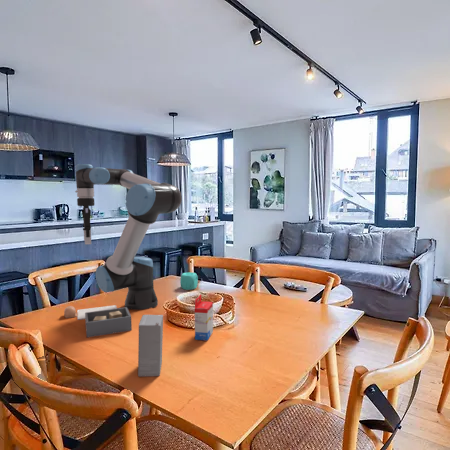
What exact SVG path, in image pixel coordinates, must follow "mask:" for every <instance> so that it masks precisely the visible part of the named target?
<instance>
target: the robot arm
mask: <svg viewBox="0 0 450 450" xmlns="http://www.w3.org/2000/svg"><path fill="white" fill-rule="evenodd" d="M75 181H76V190H75V191H74V192H75V193H76V197H77V199H76V205H77V206H78V207H82V210H81V214H82V220H83V221H82V223H83V225H82V226H83V228H82V231H83V241H84V245H92V229H91V228H92V227H91V219H92V215H91V214H92V211H91V209H90V207H94V206H95V198H94V197H95V185H99V186H100V185H101V186H102V185H103V186H104V185H105V186H106V185H107V186H110V185H111V186H115V185H117V186H120V187H123V188H125V189H127V190H128V191H127V192H126V196H125V201H126V202H125V203H124V204H125V208H126V210H127V214H128V215H129V216H128V219H127V221H126V224H125V225H124V227H123V230H122V233H121V235H120V237H119V239H118V242H117V245H116V247H115V249H114V252H113V253H112V255H111V256H108V257H107V259H106V260H105V263H104V265H99V266H97V267H96V269H95V280H96V283H97V285H98V287H99V289H100V290H101V291H102V292H104V293H110V292H116V291H119V290H124V289H127V293H126V297H125V301H124V307H127V309H128V310H133V311H134V310H135V311H139V310H141V311H142V310H149V309H153V308H156V307H157V306H158V304H159V301H158V300H159V299H158V297H157V295H156V292H155V289H154V263H153V262H154V261H153V259H152V258H150V257H148V256H147V257H146V256H145V257H144V256H136V255H137V253H138V251H139V248H140V247H141V245H142V242H143V240H144V238H145V236H146V233H147V232H148V230H149V227H150V225H153V224H154V223H156V222H157V220H158V217H159V216H160V215H161V214H171V213H173V212H175V211H177V210H178V209H179V207H180V206H181V204H182V201H183V200H182V199H183V196H182V192H181V191H180V189H179V188H178V187H177V186H175V185H173V184H170V183H168V182H161V183H160V182H158V181H154V180H152V179H149V178H147V177H144V176H141V175H139V174H136V173H134V172H133V170H132V169H127V168H110V167H109V168H105V167H102V166H101V167H100V166H96V167H94V166H93V165H92V164H89V163H88V164H87V163H78V164H76V165H75Z"/></svg>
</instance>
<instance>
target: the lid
mask: <svg viewBox="0 0 450 450" xmlns="http://www.w3.org/2000/svg"><path fill="white" fill-rule="evenodd" d="M117 308H118V307H117V305H116V304H115V305H114V304H113V305H106V306H100V307H99V306H97V307H90V308H83V309H82V308H81V309H77V312H76V307H74V306H73V305H68V306H66V307H65V308H64V311H63V312H64V313H63V315H64V318H65V319H70V318H71V319H72V318H77V320H78V321H79V320H85V313H87V312H94V311H102V310H109V309H117Z"/></svg>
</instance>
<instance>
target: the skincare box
mask: <svg viewBox="0 0 450 450" xmlns="http://www.w3.org/2000/svg"><path fill="white" fill-rule="evenodd" d="M163 331H164V314H143V315H142V316H141V318H140V321H139V322H138V353H137V354H138V355H137V356H138V357H137V359H138V361H137V362H138V363H137V367H138V368H137V375H138V377H139V378H140V377H159V376H161V370H162V364H163V340H164V339H163V338H164V335H163V334H164V332H163Z"/></svg>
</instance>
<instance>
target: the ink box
mask: <svg viewBox="0 0 450 450" xmlns="http://www.w3.org/2000/svg"><path fill="white" fill-rule="evenodd" d="M213 305H214V303H213V301H205V300H204V301H203V300H202V294H199V296H198V297H196V298H195V299H194V339H195V341H196V340H197V341H208V340H209V339H210V337H211V335H212V334H213V332H214V318H213V317H214V311H213V309H214V306H213Z"/></svg>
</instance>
